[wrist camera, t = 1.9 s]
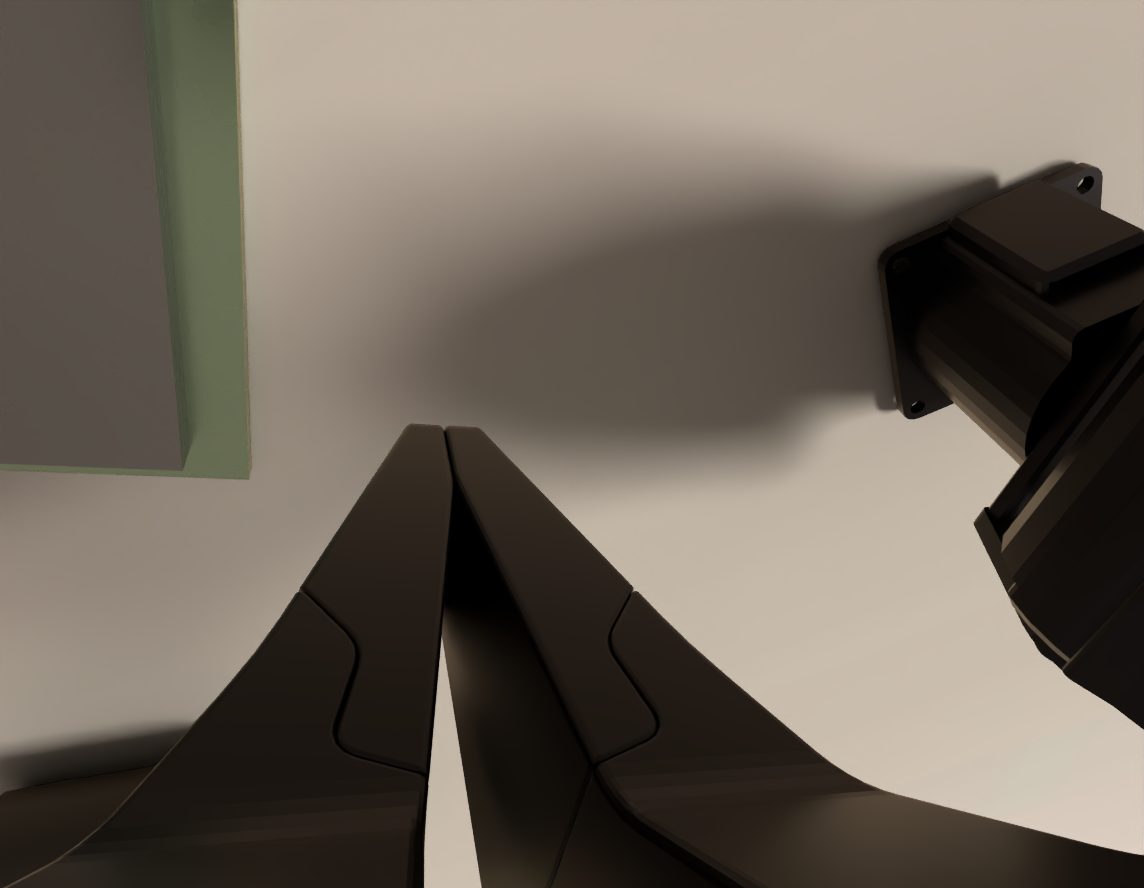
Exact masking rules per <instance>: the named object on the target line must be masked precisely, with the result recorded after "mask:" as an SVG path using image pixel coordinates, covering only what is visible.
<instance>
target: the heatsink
mask: <svg viewBox="0 0 1144 888" xmlns="http://www.w3.org/2000/svg"><path fill="white" fill-rule="evenodd" d="M0 470H12V471H38V472H64V473H90V474H116V475H143V476H169V477H195V478H221V479H248V480H249V477H250V473H251V443H250V410H249V376H248V343H247V310H246V277H245V244H244V211H243V178H242V145H241V112H240V79H239V46H238V13H237V0H0Z"/></svg>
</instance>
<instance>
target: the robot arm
mask: <svg viewBox="0 0 1144 888" xmlns="http://www.w3.org/2000/svg"><path fill="white" fill-rule="evenodd" d="M1083 178H1084V180H1083V182H1082V183H1081V185H1080V186H1079V187H1077V186H1078V184H1079V182H1080V181H1081V180H1082V179H1083ZM1102 179H1103V177H1102V172H1101V171H1100V170H1099V168H1097V167H1094V166H1092V165H1090V164H1086V163H1080V164H1076V165H1074V166H1071V167H1069V168H1067V169H1064V170H1062V171H1060V172H1058V173H1055V174H1053V175H1051V176H1049V177H1046V178H1044V179H1042V180H1034V181H1032V182H1030V183H1027V184H1025V185H1023V186H1021V187H1018V188H1016V189H1014V190H1011V191H1009V192H1007V193H1005V194H1002V195H1000V196H998V197H995V198H993V199H991V200H989V201H986V202H984V203H982V204H980V205H977V206H975V207H973V208H970V209H968V210H966V211H964V212H961V213H959V214H957V215H956V216H955V217H953V218H952V219H951V220H948V221H946V222H944V223H942V224H939V225H937V226H935V227H933V228H930V229H928V230H926V231H923V232H921V233H919V234H917V235H914V236H912V237H910V238H907V239H905V240H903V241H901V242H898V243H896V244H894V245H892V246H890V247H889V248H887V249H886V250H885V251H884V252H883V253H882V254H881V256H880V258H879V260H878V272H879V280H880V287H881V294H882V301H883V308H884V315H885V323H886V330H887V337H888V344H889V351H890V358H891V365H892V373H893V380H894V387H895V394H896V401H897V407H898V409H899V411H900V412H901V413H902V414H903V415H904V416H905V417H906V418H908V419H917V418H920V417H923V416H925V415H927V414H930V413H932V412H934V411H937V410H939V409H942V408H944V407H946V406H949V405H951V404H953V403H955V404H956V405H957V406H958V407H959V408H960V409H961V410H962V411H963V412H964V413H965V414H966V415H967V416H969V417H970V418H971V419H972V420H973V421H974V422H975V423H976V424H977V425H978V426H979V427H980V428H981V429H982V430H983V431H984V432H985V433H987V434H988V435H989V436H990V437H991V438H992V439H993V440H994V441H995V442H996V443H997V444H998V445H999V446H1000V447H1001V448H1002V449H1004V450H1005V451H1006V452H1007V453H1008V454H1009V455H1010V456H1011V457H1012V458H1013V459H1014V460H1015V461H1016V462H1017V463H1018V464H1019V465H1020V467H1019V468H1018V470H1017V471H1016V472H1015V474H1014V475H1013V476H1012V478H1011V479H1010V480H1009V482H1008V483H1007V484H1006V486H1005V487H1004V488H1003V490H1002V491H1001V492H1000V494H999V495H998V496H997V498H996V499H995V500H994V502H993V503H992V505H991V506H990V507H985V508H984V509H983V510H982V512H981V513H980V515H979V516H978V517H977V519H976V520H975V521H974V526H975V528H976V530H977V532H978V534H979V536H980V538H981V540H982V542H983V545H984V547H985V549H986V551H987V553H988V555H989V557H990V559H991V561H992V563H993V565H994V567H995V569H996V571H997V573H998V575H999V577H1000V579H1001V581H1002V583H1003V586H1004V588H1005V590H1006V592H1007V594H1008V596H1009V598H1010V601H1011V603H1012V606H1013V607H1014V608H1015V610H1016V612H1017V614H1018V616H1019V618H1020V620H1021V622H1022V624H1023V626H1024V628H1025V629H1026V631H1027V632H1028V634H1029V636H1030V637H1031V639H1032V640H1033V641H1034V643H1035V645H1036V647H1037V649H1038V650H1039V651H1040V653H1041V654H1042V655H1044V656H1045V657H1046V658H1048V659H1049V660H1051V661H1053V662H1054V663H1055V664H1056V665H1057V666H1058V667H1059V668H1060V669H1061V670H1062V671H1063V673H1064V674H1065V675H1066V676H1067V677H1068V678H1069V679H1070V680H1072V681H1073V682H1075V683H1077V684H1078V685H1080V686H1082V687H1083V688H1085V689H1086V690H1088V691H1090V692H1091V693H1093V694H1094V695H1096V696H1098V697H1099V698H1101V699H1103V700H1104V701H1106V702H1107V703H1109V704H1111V705H1112V706H1114V707H1115V708H1116V709H1118V710H1119V711H1120V712H1121V713H1123V714H1124V715H1125V716H1127V717H1128V718H1129V719H1131V720H1132V721H1133V722H1135V723H1136V724H1137V725H1138V726H1140V727H1141V728H1142V729H1144V230H1142V229H1140V228H1138V227H1136V226H1134V225H1132V224H1130V223H1128V222H1126V221H1124V220H1122V219H1120V218H1118V217H1116V216H1113V215H1111V214H1109V213H1107V212H1105V211H1103V210H1101V195H1102ZM899 258H902V261H901V262H900V264H899V265H898V266H896V267H895V268H893V265H894V263H895V262H896V260H898V259H899ZM916 401H917V403H916V404H915V405H913V403H915V402H916ZM912 405H913V406H912ZM633 590H634V589H633V586H632V585H631V584H630V583H629V582H628V581H627V580H626V579H625V578H624V577H623V576H622V575H621V574H620V573H619V572H618V571H617V570H616V569H615V568H614V567H613V566H612V565H611V564H610V562H609V561H608V560H607V559H606V558H605V557H604V556H603V555H602V554H601V553H600V552H599V551H598V550H597V549H596V548H595V547H594V546H593V545H592V544H591V543H590V542H589V541H588V540H587V539H586V538H585V537H584V536H583V535H582V534H581V533H580V531H579V530H578V529H577V528H576V527H575V526H574V525H573V524H572V523H571V522H570V521H569V520H568V519H567V518H566V517H565V516H564V515H563V514H562V513H561V512H560V511H559V510H558V509H557V508H556V507H555V506H554V505H553V504H552V503H551V501H550V500H549V499H548V498H547V497H546V496H545V495H544V494H543V493H542V492H541V491H540V490H539V489H538V488H537V487H536V486H535V485H534V484H533V483H532V482H531V481H530V480H529V479H528V478H527V477H526V476H525V475H524V474H523V473H522V472H521V470H520V469H519V468H518V467H517V466H516V465H515V464H514V463H513V462H512V461H511V460H510V459H509V458H508V457H507V456H506V455H505V454H504V453H503V452H502V451H501V450H500V449H499V448H498V447H497V446H496V445H495V444H494V443H493V442H492V441H491V439H490V438H489V437H488V436H487V435H486V434H485V433H484V432H483V431H482V430H480V429H479V428H476V427H461V426H448V427H446V428H445V429H444V430H443V428H442V427H441V426H438V425H425V424H409V425H408V426H407V427H406V428H405V429H404V431H403V432H402V434H401V435H400V437H399V438H398V440H397V441H396V443H395V444H394V446H393V447H392V449H391V450H390V452H389V453H388V455H387V456H386V458H385V459H384V461H383V463H382V464H381V466H380V467H379V469H378V470H377V472H376V473H375V475H374V476H373V478H372V479H371V481H370V482H369V484H368V485H367V487H366V488H365V490H364V491H363V493H362V494H361V496H360V497H359V499H358V500H357V502H356V504H355V505H354V507H353V508H352V510H351V511H350V513H349V514H348V516H347V517H346V519H345V520H344V522H343V523H342V525H341V526H340V528H339V529H338V531H337V532H336V534H335V535H334V537H333V538H332V540H331V541H330V543H329V545H328V546H327V548H326V549H325V551H324V552H323V554H322V555H321V557H320V558H319V560H318V561H317V563H316V564H315V566H314V567H313V569H312V570H311V572H310V573H309V575H308V576H307V578H306V579H305V581H304V583H303V584H302V586H301V587H300V590H299V592H297V593H296V594H295V596H294V597H293V599H292V600H291V602H290V603H289V605H288V606H287V608H286V609H285V611H284V612H283V614H282V615H281V617H280V618H279V620H278V621H277V622H276V624H275V625H274V627H273V628H272V629H271V631H270V632H269V633H268V635H267V636H266V638H265V639H264V640H263V642H262V643H261V645H260V646H259V647H258V649H257V650H256V652H255V653H254V654H253V655H252V656H251V658H250V659H249V660H248V661H247V662H246V664H245V665H244V666H243V667H242V668H241V670H240V671H239V672H238V673H237V674H236V676H235V677H234V678H233V679H232V680H231V682H230V683H229V684H228V685H227V686H226V688H225V689H224V690H223V691H222V692H221V693H220V695H219V696H218V697H217V698H216V699H215V700H214V701H213V702H212V704H211V705H210V706H209V707H208V708H207V709H206V710H205V711H204V713H203V714H202V715H201V716H200V717H199V718H198V719H197V720H196V721H195V723H194V724H193V725H192V726H191V727H190V728H189V729H188V730H187V732H186V733H185V734H184V735H183V736H182V737H181V738H180V739H179V741H178V742H177V743H176V744H175V745H174V746H173V747H172V748H171V750H170V751H169V752H168V753H167V754H166V755H165V756H164V757H163V759H162V760H161V761H160V762H159V763H158V764H157V765H156V766H155V768H154V769H153V770H152V771H151V772H150V773H149V774H148V775H147V777H146V778H145V779H144V780H143V781H142V782H141V783H140V784H139V785H138V787H137V788H136V789H135V790H134V791H133V792H132V793H131V794H130V796H129V797H128V798H127V799H126V800H125V801H124V802H123V803H122V804H121V805H120V806H119V807H118V808H117V810H116V811H115V812H114V813H113V814H112V815H111V816H110V817H109V818H108V819H107V820H105V821H104V822H103V823H102V824H101V825H100V826H99V827H98V828H97V829H96V830H95V831H94V832H92V833H91V834H90V835H89V836H87V837H86V838H85V839H84V840H83V841H81V842H80V843H79V844H78V845H76V846H75V847H74V848H72V849H71V850H69V851H68V852H67V853H65V854H64V855H62V856H61V857H59V858H58V859H56V860H55V861H53V862H51V863H49V864H48V865H46V866H44V867H42V868H40V869H38V870H36V871H34V872H33V873H31V874H29V875H27V876H25V877H23V878H21V879H19V880H17V881H15V882H14V883H12V884H10V885H8V886H6V887H4V888H424V842H425V824H426V809H427V796H428V781H429V773H430V762H431V751H432V739H433V728H434V717H435V705H436V694H437V683H438V671H439V660H440V648H441V637H442V639H443V645H444V652H445V658H446V664H447V671H448V677H449V683H450V690H451V696H452V702H453V709H454V715H455V721H456V728H457V734H458V740H459V747H460V753H461V759H462V766H463V772H464V778H465V785H466V791H467V797H468V804H469V810H470V816H471V823H472V829H473V835H474V842H475V848H476V854H477V861H478V867H479V873H480V880H481V886H482V888H1144V855H1138V854H1132V853H1127V852H1123V851H1118V850H1113V849H1109V848H1104V847H1100V846H1096V845H1092V844H1088V843H1084V842H1080V841H1076V840H1072V839H1069V838H1065V837H1061V836H1057V835H1053V834H1049V833H1045V832H1041V831H1037V830H1034V829H1030V828H1026V827H1022V826H1018V825H1014V824H1010V823H1006V822H1002V821H999V820H995V819H991V818H987V817H983V816H979V815H975V814H971V813H967V812H964V811H960V810H956V809H952V808H948V807H944V806H940V805H936V804H932V803H929V802H925V801H921V800H917V799H913V798H909V797H905V796H901V795H897V794H894V793H891V792H887V791H884V790H881V789H879V788H876V787H874V786H871V785H869V784H866V783H864V782H862V781H860V780H859V779H857V778H855V777H853V776H851V775H849V774H847V773H846V772H844V771H843V770H841V769H840V768H838V767H837V766H835V765H834V764H832V763H831V762H829V761H828V760H827V759H826V758H824V757H823V756H822V755H820V754H819V753H818V752H817V751H815V750H814V749H813V748H812V747H810V746H809V745H808V744H807V743H806V742H805V741H803V740H802V739H801V738H800V737H799V736H797V735H796V734H795V733H794V732H793V731H792V730H790V729H789V728H788V727H787V726H786V725H784V724H783V723H782V722H781V721H780V720H779V719H777V718H776V717H775V716H774V715H773V714H771V713H770V712H769V711H768V710H767V709H765V708H764V707H763V706H762V705H761V704H760V703H758V702H757V701H756V700H755V699H754V698H752V697H751V696H750V695H749V694H748V693H747V692H745V691H744V690H743V689H742V688H741V687H739V686H738V685H737V684H736V683H735V682H734V681H732V680H731V679H730V678H729V677H728V676H726V675H725V674H724V673H723V672H722V671H721V670H720V669H718V668H717V667H716V666H715V665H714V664H713V663H712V662H711V661H709V660H708V659H707V658H706V657H705V656H704V655H703V654H701V653H700V652H699V651H698V650H697V649H696V648H695V647H694V646H692V645H691V644H690V643H689V642H688V641H687V640H686V639H685V638H684V637H683V636H682V635H681V634H680V633H679V632H678V631H677V630H676V629H675V628H674V627H673V626H672V625H671V624H670V623H669V622H668V621H666V620H665V619H664V618H663V617H662V616H661V615H660V614H659V613H658V612H657V611H656V610H655V609H654V608H653V607H652V606H651V605H650V603H649V602H648V601H647V600H646V599H645V598H644V597H643V596H642V595H641V594H640V593H639V592H637V591H634V592H633Z"/></svg>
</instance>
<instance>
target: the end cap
mask: <svg viewBox="0 0 1144 888" xmlns="http://www.w3.org/2000/svg"><path fill="white" fill-rule="evenodd" d="M154 768H155V766H152V767H146V768H140V769H134V770H128V771H122V772H116V773H110V774H104V775H98V776H93V777H87V778H81V779H75V780H69V781H63V782H57V783H51V784H45V785H39V786H33V787H27V788H21V789H17V790H12V791H7V792H4V793H3V794H1V795H0V888H4V887H6V886H8V885H10V884H12V883H14V882H15V881H17V880H19V879H21V878H23V877H25V876H27V875H29V874H31V873H33V872H34V871H36V870H38V869H40V868H42V867H44V866H46V865H48V864H49V863H51V862H53V861H55V860H56V859H58V858H59V857H61V856H62V855H64V854H65V853H67V852H68V851H69V850H71V849H72V848H74V847H75V846H76V845H78V844H79V843H80V842H81V841H83V840H84V839H85V838H86V837H87V836H89V835H90V834H91V833H92V832H94V831H95V830H96V829H97V828H98V827H99V826H100V825H101V824H102V823H103V822H104V821H105V820H107V819H108V818H109V817H110V816H111V815H112V814H113V813H114V812H115V811H116V810H117V808H118V807H119V806H120V805H121V804H122V803H123V802H124V801H125V800H126V799H127V798H128V797H129V796H130V794H131V793H132V792H133V791H134V790H135V789H136V788H137V787H138V785H139V784H140V783H141V782H142V781H143V780H144V779H145V778H146V777H147V775H148V774H149V773H150V772H151V771H152V770H153V769H154Z"/></svg>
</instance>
